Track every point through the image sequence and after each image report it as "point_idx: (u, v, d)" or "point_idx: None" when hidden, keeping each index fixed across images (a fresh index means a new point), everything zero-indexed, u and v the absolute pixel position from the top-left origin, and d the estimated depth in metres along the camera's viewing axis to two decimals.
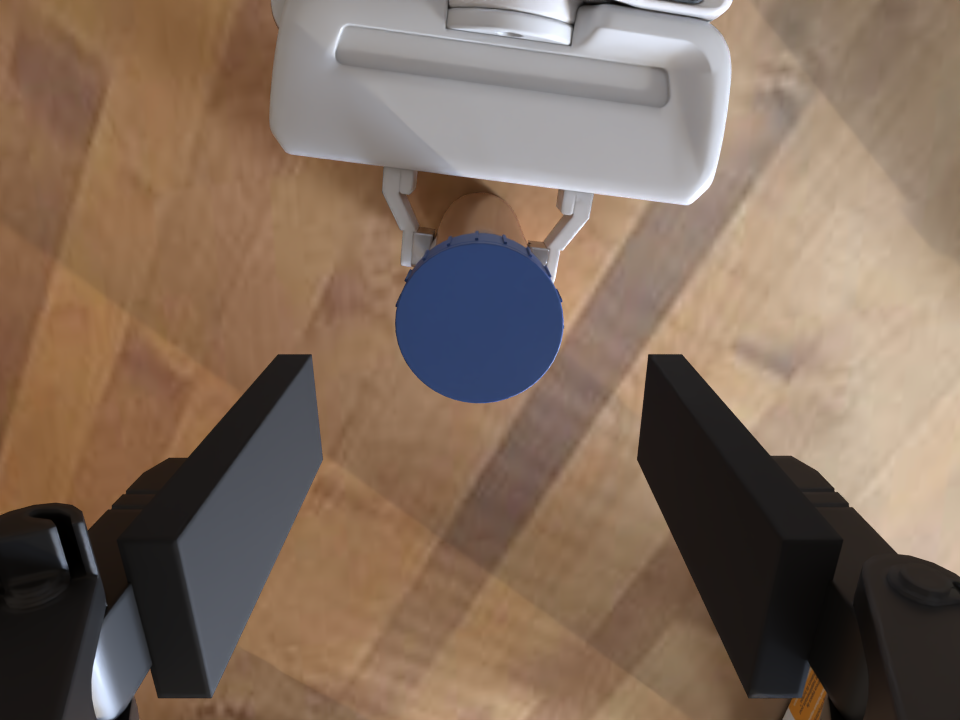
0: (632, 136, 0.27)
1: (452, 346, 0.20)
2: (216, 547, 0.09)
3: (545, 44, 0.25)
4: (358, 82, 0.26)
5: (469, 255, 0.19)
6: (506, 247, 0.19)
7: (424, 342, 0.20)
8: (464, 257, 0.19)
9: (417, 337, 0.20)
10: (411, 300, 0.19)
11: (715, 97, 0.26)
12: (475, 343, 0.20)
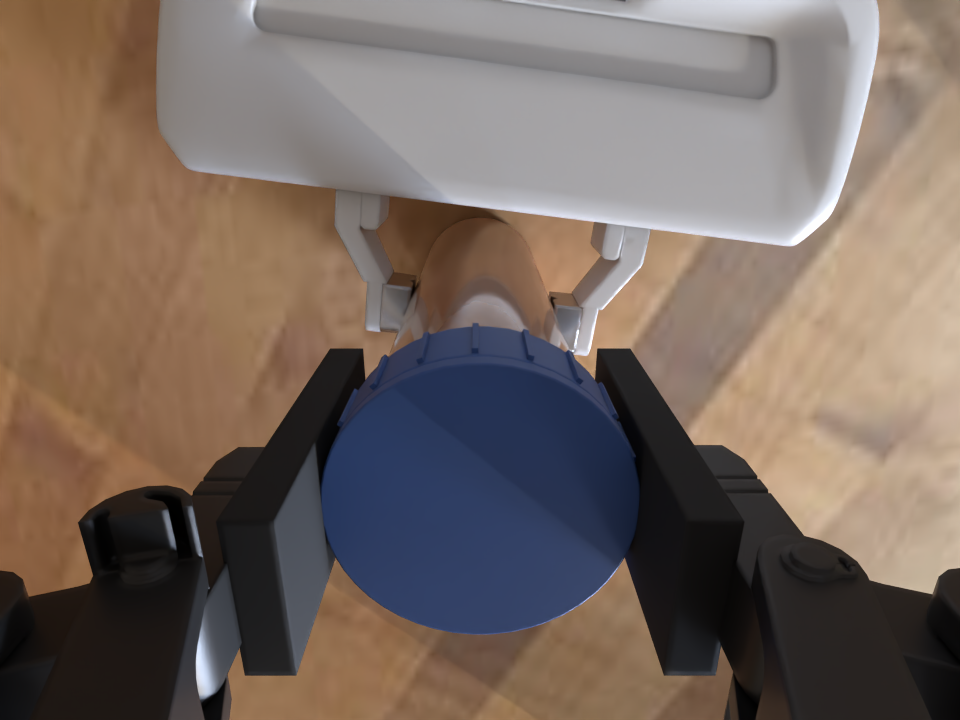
0: (716, 143, 0.17)
1: (430, 544, 0.11)
2: (299, 531, 0.09)
3: None
4: (291, 59, 0.17)
5: (460, 386, 0.10)
6: (534, 370, 0.09)
7: (376, 537, 0.11)
8: (450, 390, 0.10)
9: (362, 529, 0.10)
10: (348, 466, 0.10)
11: (851, 83, 0.16)
12: (472, 539, 0.11)
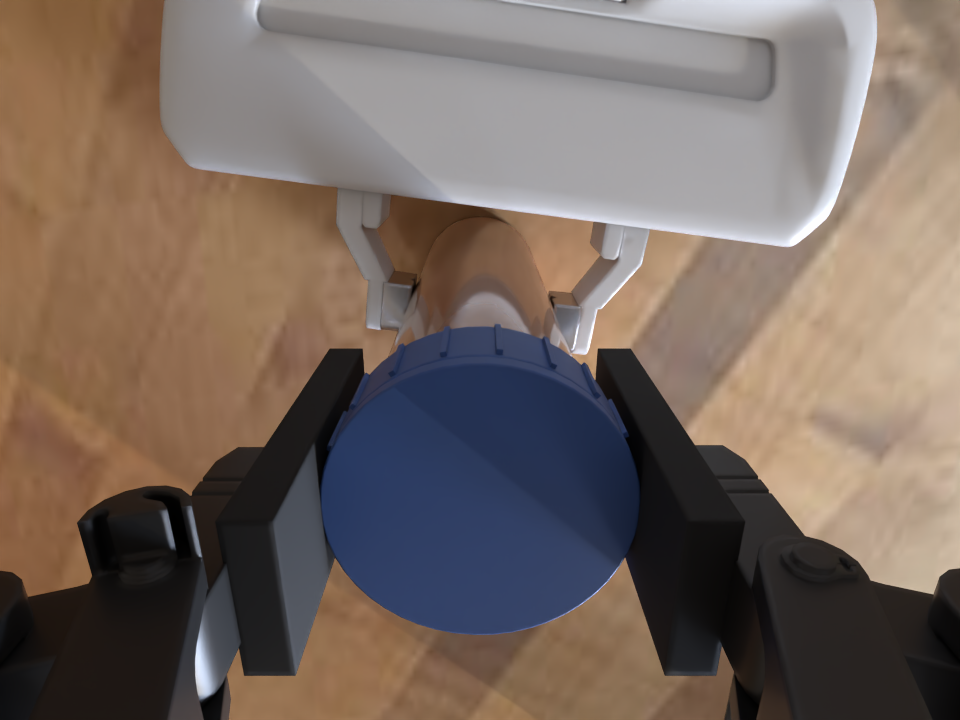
0: (715, 144, 0.18)
1: (529, 544, 0.11)
2: (299, 531, 0.09)
3: (585, 0, 0.16)
4: (294, 58, 0.17)
5: (355, 556, 0.11)
6: (321, 504, 0.10)
7: (534, 587, 0.11)
8: (362, 563, 0.11)
9: (528, 599, 0.11)
10: (464, 618, 0.11)
11: (849, 85, 0.17)
12: (513, 511, 0.10)
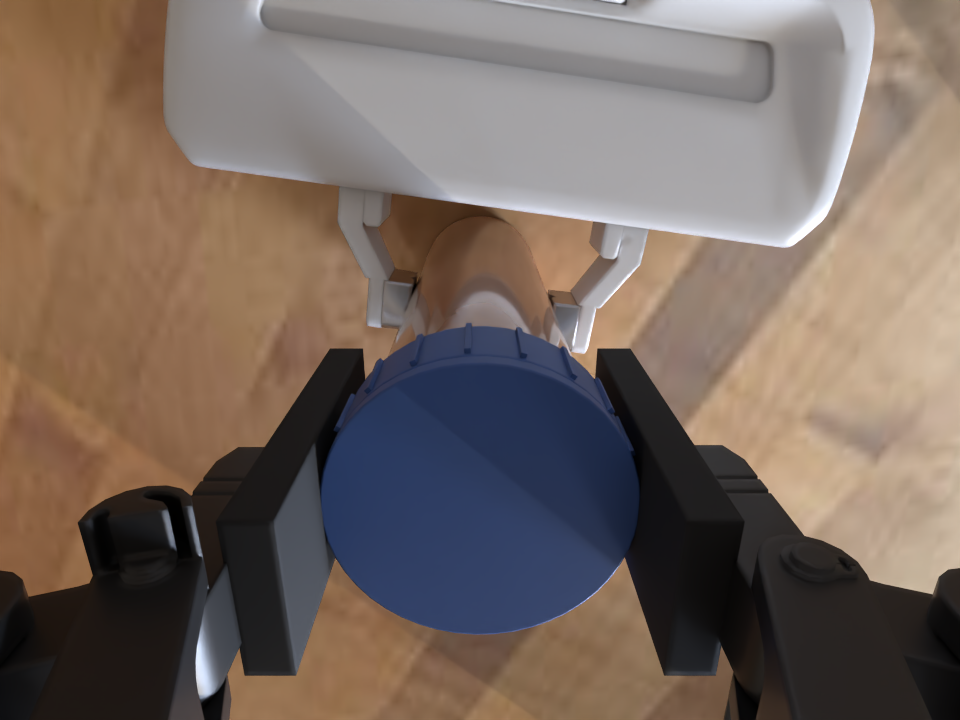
0: (713, 145, 0.18)
1: (504, 461, 0.10)
2: (299, 531, 0.09)
3: (586, 2, 0.16)
4: (297, 58, 0.17)
5: (560, 598, 0.11)
6: (512, 629, 0.11)
7: (558, 441, 0.10)
8: (567, 593, 0.11)
9: (576, 443, 0.10)
10: (617, 495, 0.10)
11: (846, 88, 0.17)
12: (469, 485, 0.10)
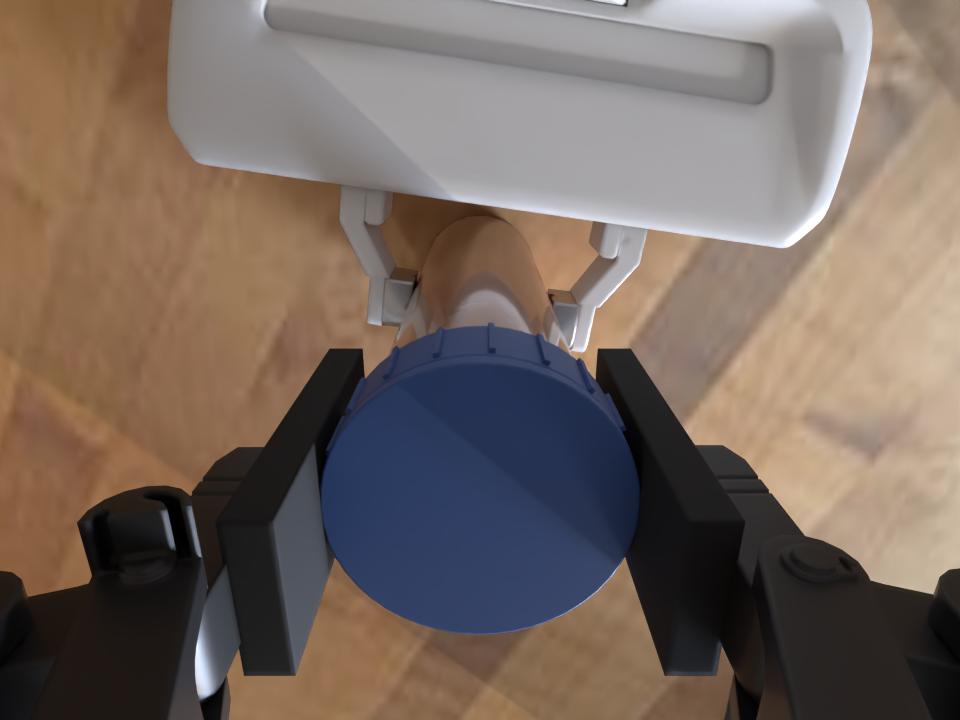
0: (712, 146, 0.18)
1: (416, 506, 0.10)
2: (298, 531, 0.09)
3: (587, 3, 0.16)
4: (300, 57, 0.17)
5: (568, 411, 0.10)
6: (626, 443, 0.10)
7: (379, 468, 0.10)
8: (558, 407, 0.10)
9: (376, 453, 0.10)
10: (420, 397, 0.10)
11: (844, 90, 0.17)
12: (452, 527, 0.10)
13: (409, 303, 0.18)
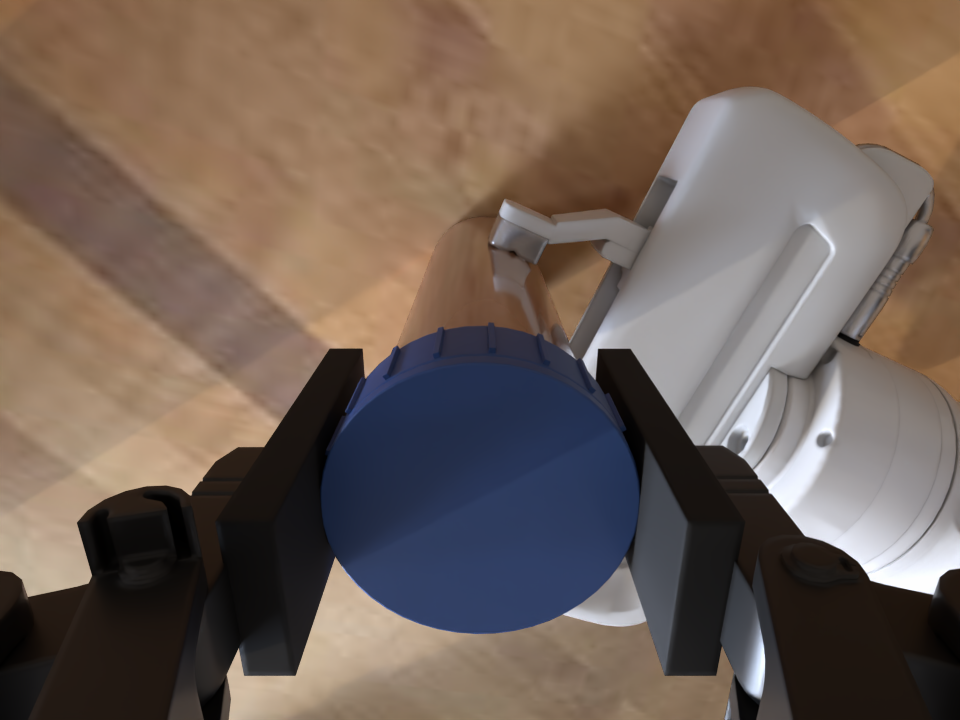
0: None
1: (416, 506, 0.10)
2: (298, 531, 0.09)
3: None
4: (766, 244, 0.19)
5: (568, 411, 0.10)
6: (626, 443, 0.10)
7: (379, 467, 0.10)
8: (558, 407, 0.10)
9: (376, 453, 0.10)
10: (420, 397, 0.10)
11: (584, 610, 0.24)
12: (452, 527, 0.10)
13: (540, 286, 0.18)
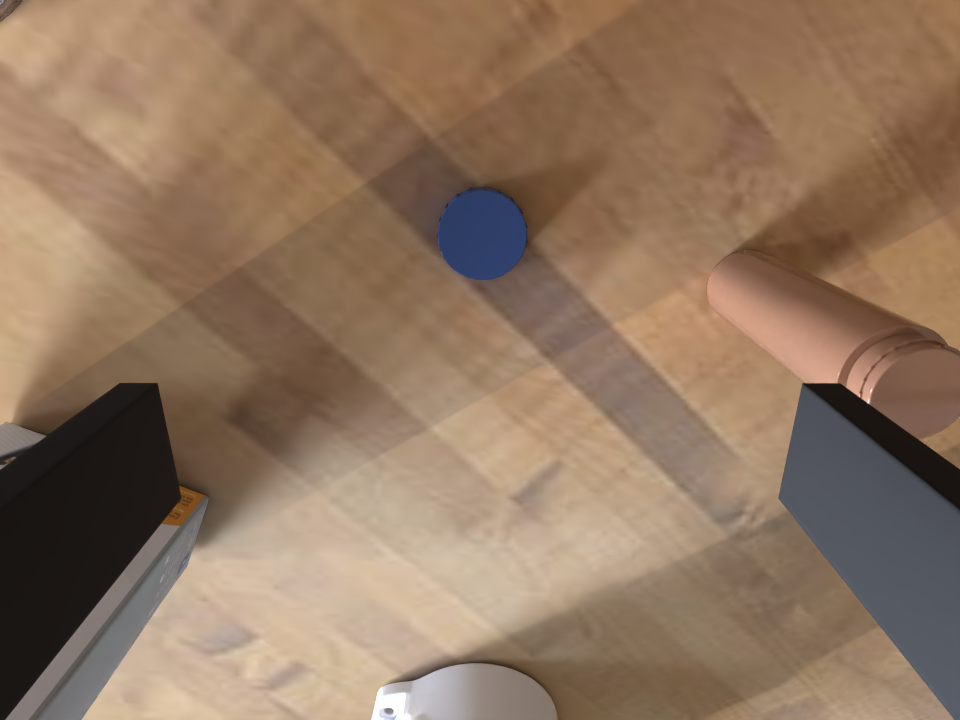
0: None
1: (464, 234, 0.37)
2: None
3: None
4: None
5: (505, 204, 0.37)
6: (521, 214, 0.37)
7: (455, 222, 0.37)
8: (503, 203, 0.37)
9: (454, 217, 0.37)
10: (466, 200, 0.36)
11: None
12: (474, 241, 0.37)
13: None
